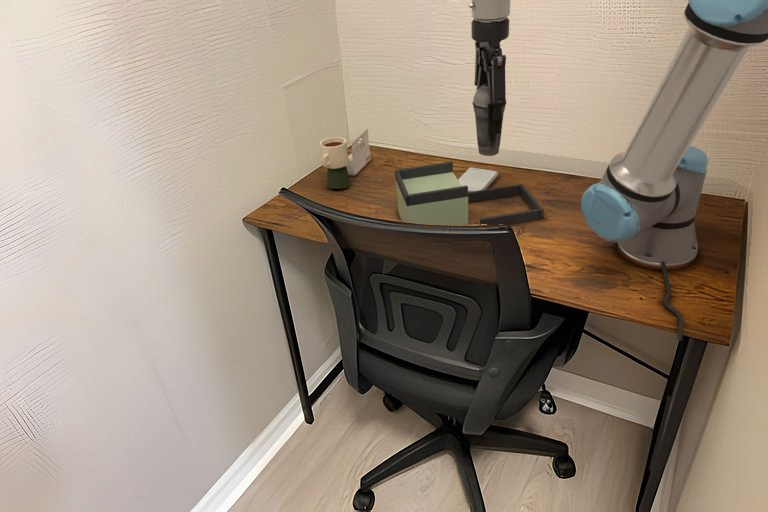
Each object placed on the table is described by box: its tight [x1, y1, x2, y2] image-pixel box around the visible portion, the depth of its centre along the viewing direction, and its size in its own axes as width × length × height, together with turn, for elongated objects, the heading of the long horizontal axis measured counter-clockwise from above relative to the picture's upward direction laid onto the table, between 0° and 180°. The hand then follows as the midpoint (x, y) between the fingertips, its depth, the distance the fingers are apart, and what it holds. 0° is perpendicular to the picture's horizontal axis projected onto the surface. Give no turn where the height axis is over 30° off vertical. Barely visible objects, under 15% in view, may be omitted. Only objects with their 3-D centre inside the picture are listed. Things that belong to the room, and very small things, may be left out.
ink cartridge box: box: [346, 128, 372, 176], centre depth 168 cm, size 2×11×10 cm, turn 157°
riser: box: [394, 161, 545, 226], centre depth 140 cm, size 14×32×12 cm, turn 99°
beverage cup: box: [472, 67, 507, 157], centre depth 129 cm, size 7×7×20 cm
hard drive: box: [457, 166, 499, 192], centre depth 155 cm, size 2×8×12 cm
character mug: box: [319, 136, 351, 190], centre depth 158 cm, size 11×7×13 cm, turn 152°
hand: (488, 126), depth 131 cm, fingers closed on beverage cup, 7 cm apart
